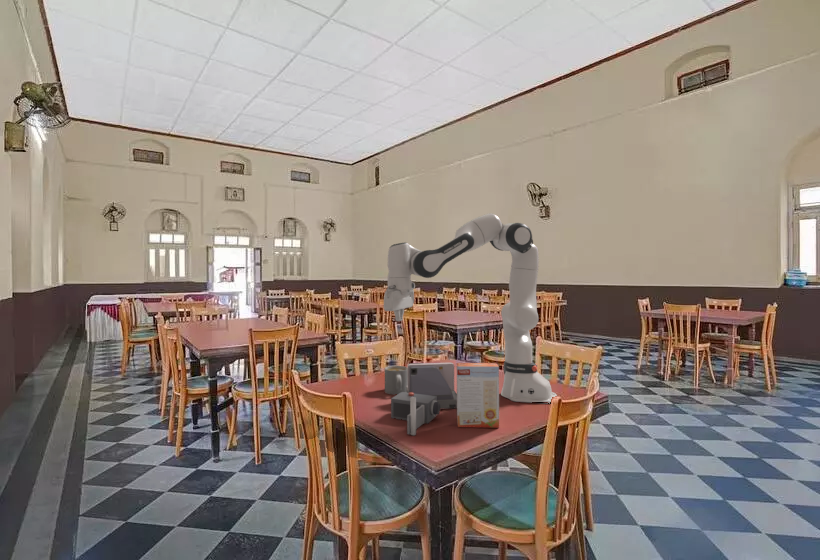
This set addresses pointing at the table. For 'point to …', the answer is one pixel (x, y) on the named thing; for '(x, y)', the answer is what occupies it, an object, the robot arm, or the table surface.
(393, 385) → the coffee mug
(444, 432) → the table surface
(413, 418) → the side door
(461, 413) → the cracker box
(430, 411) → the camera box
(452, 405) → the instant camera
